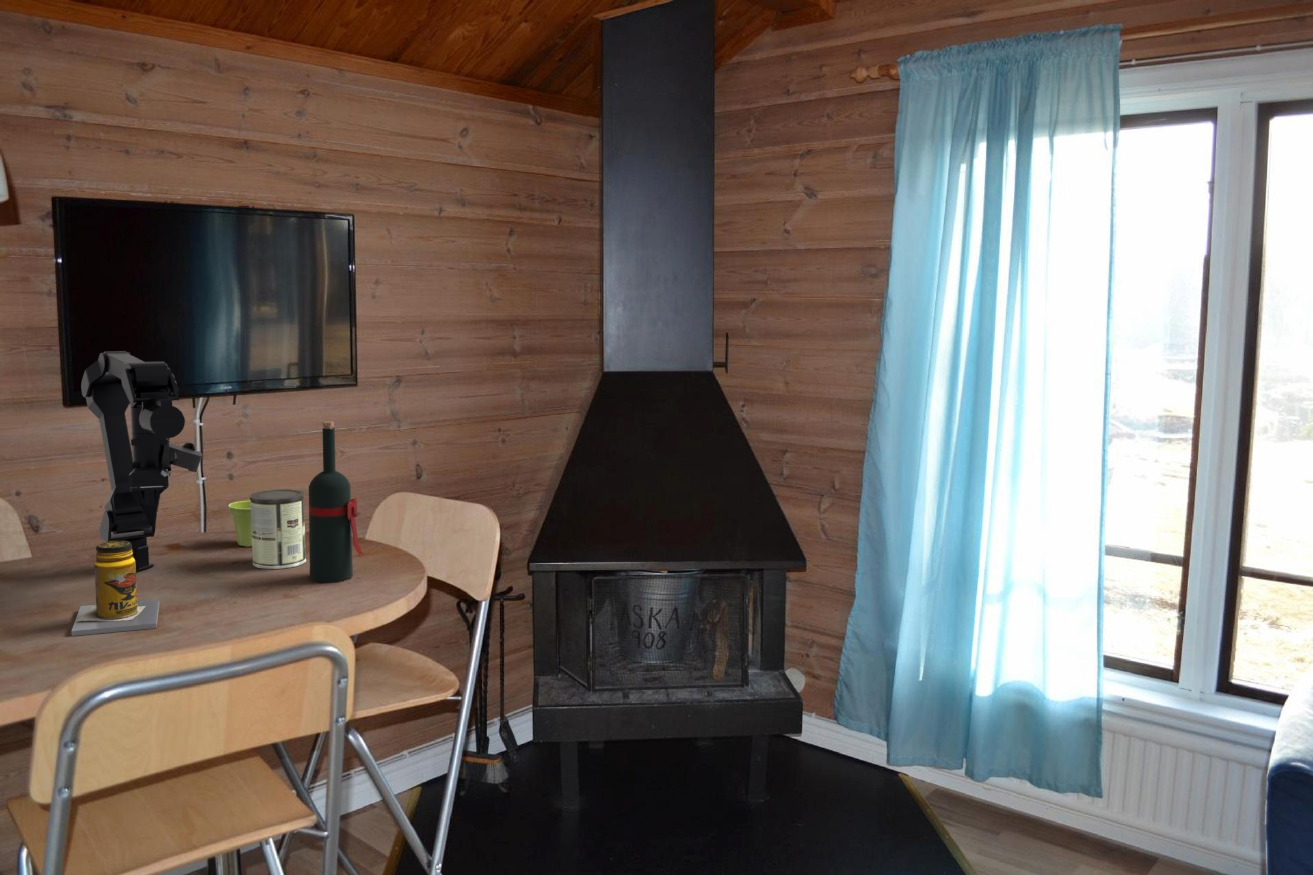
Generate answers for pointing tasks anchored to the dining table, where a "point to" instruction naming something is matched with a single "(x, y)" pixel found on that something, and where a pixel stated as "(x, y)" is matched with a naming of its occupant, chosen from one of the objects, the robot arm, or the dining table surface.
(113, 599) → the condiment
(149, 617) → the board
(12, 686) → the dining table surface
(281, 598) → the dining table surface
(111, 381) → the robot arm
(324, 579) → the wine bottle
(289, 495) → the coffee can
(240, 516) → the plant pot
